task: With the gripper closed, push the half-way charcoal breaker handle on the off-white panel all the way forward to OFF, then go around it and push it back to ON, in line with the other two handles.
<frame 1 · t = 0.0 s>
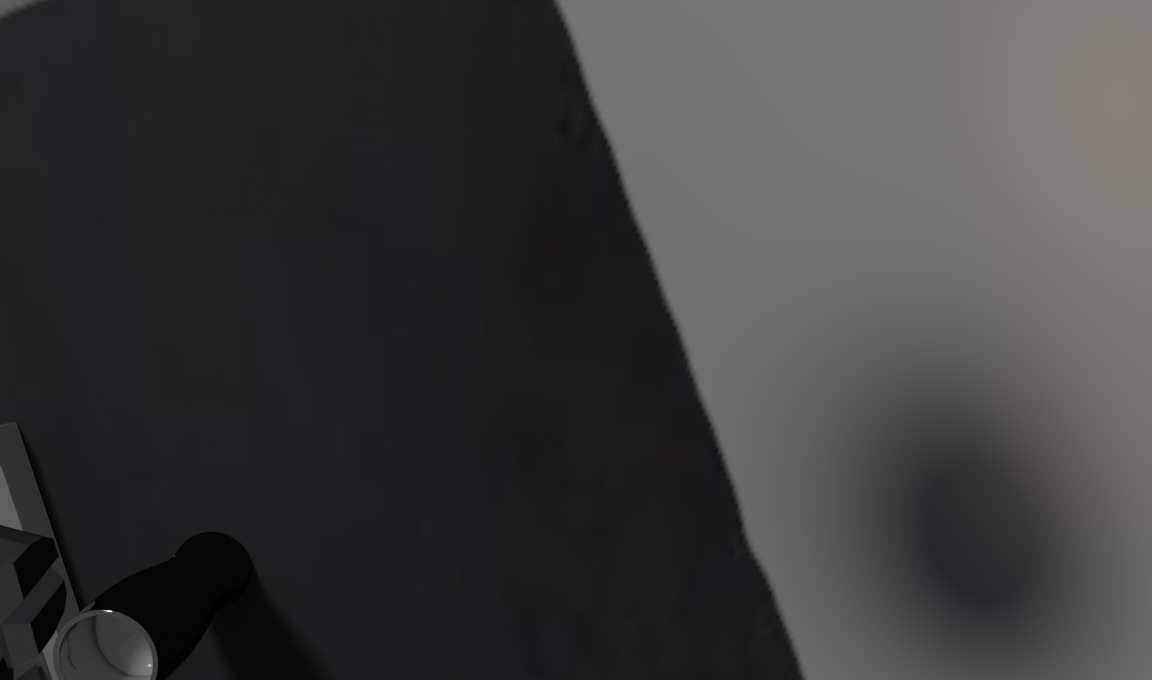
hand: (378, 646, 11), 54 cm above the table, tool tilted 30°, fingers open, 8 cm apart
beer glass: (214, 567, 68), on the table
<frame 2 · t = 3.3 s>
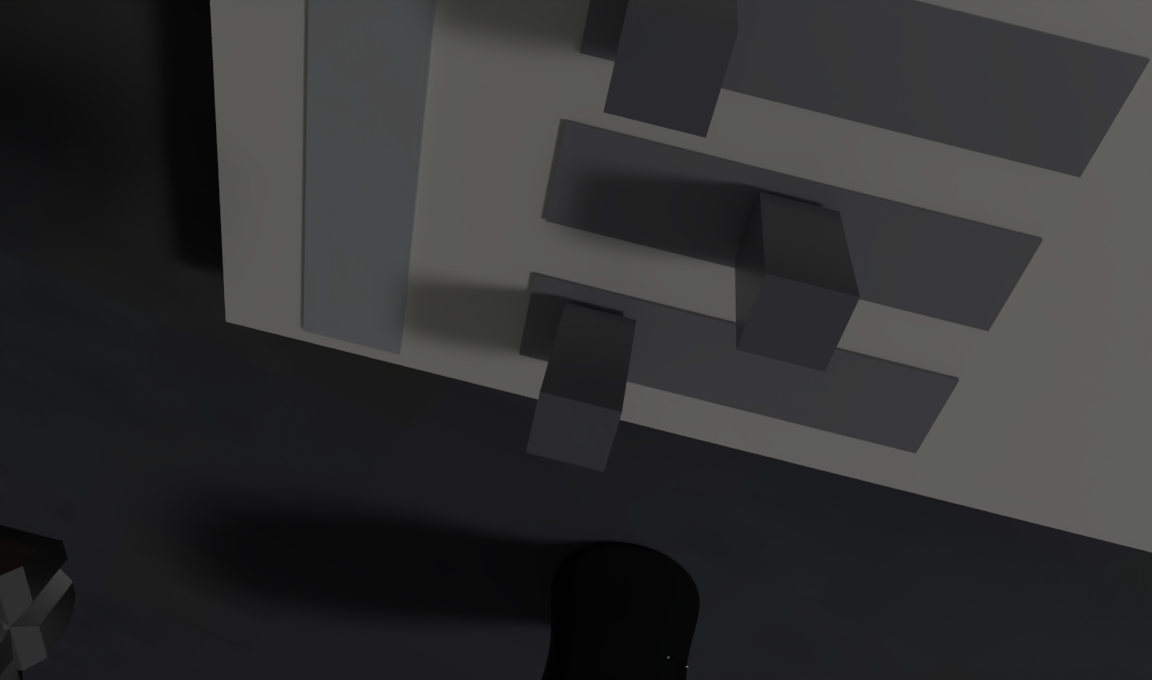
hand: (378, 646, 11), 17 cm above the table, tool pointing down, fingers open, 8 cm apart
tripped breaker handle: (790, 277, 20), point 6 cm above the table, slide at 4.0 cm
beer glass: (625, 590, 36), on the table
breaker panel: (778, 179, 24), on the table
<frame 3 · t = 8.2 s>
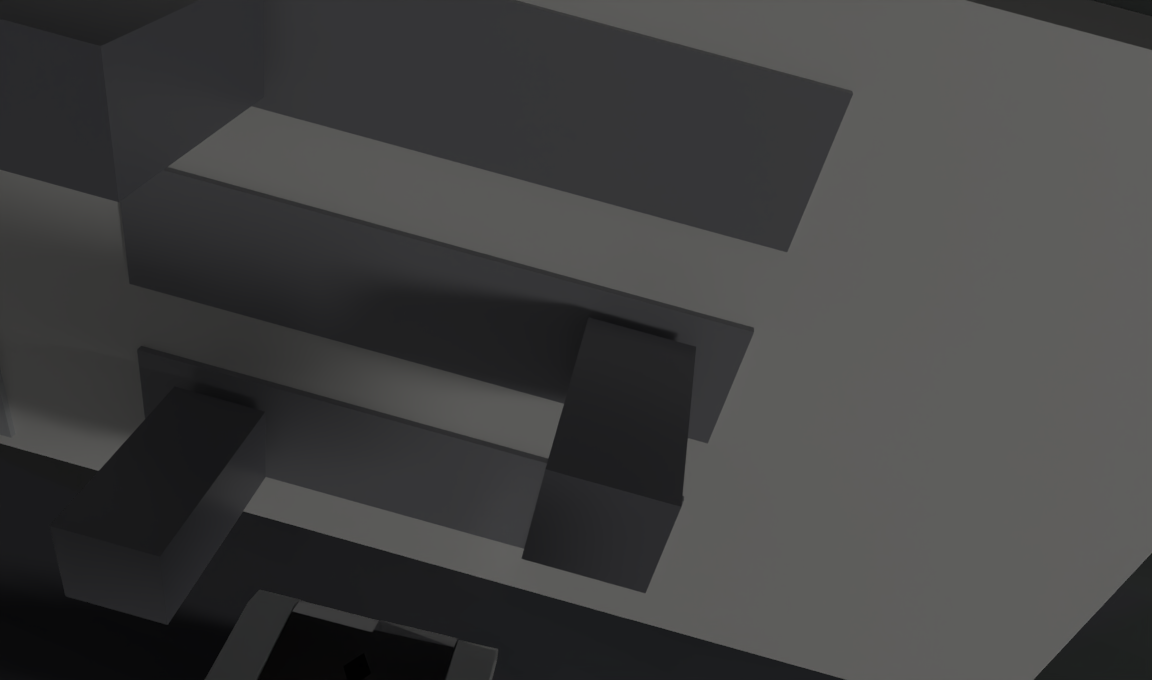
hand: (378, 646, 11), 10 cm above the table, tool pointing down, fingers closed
tripped breaker handle: (614, 445, 14), point 6 cm above the table, slide at 8.1 cm
breaker panel: (468, 230, 19), on the table
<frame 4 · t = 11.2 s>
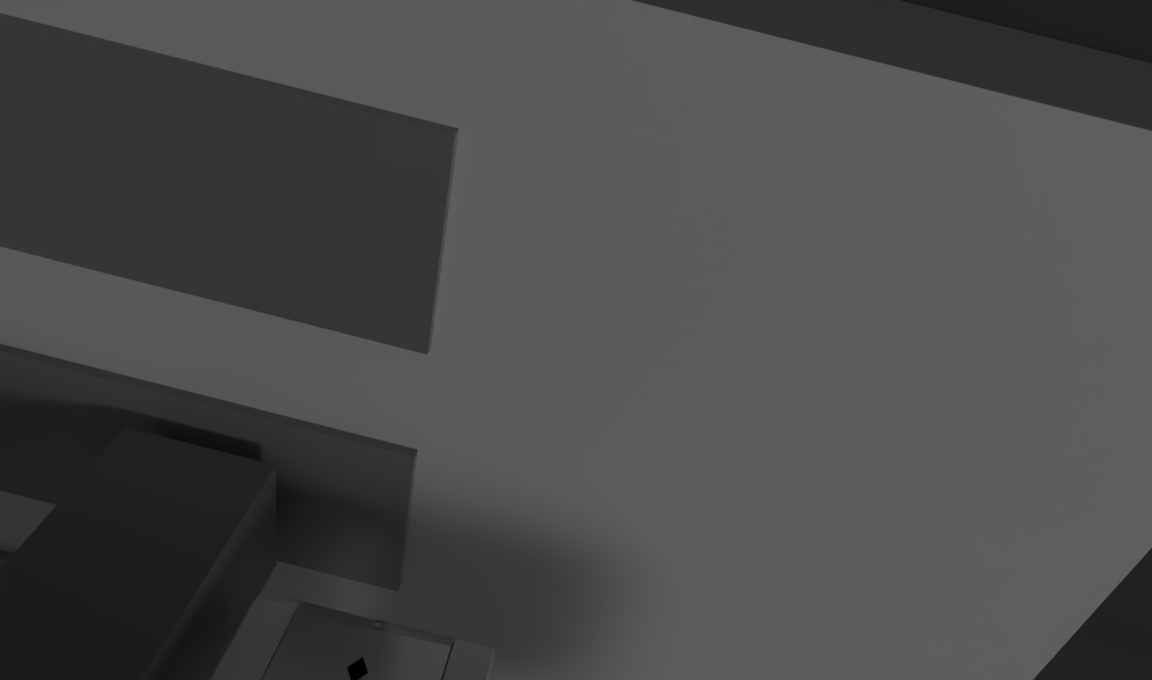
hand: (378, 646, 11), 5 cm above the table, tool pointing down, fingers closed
tripped breaker handle: (119, 621, 10), point 5 cm above the table, slide at 7.3 cm, touching gripper
breaker panel: (118, 303, 15), on the table
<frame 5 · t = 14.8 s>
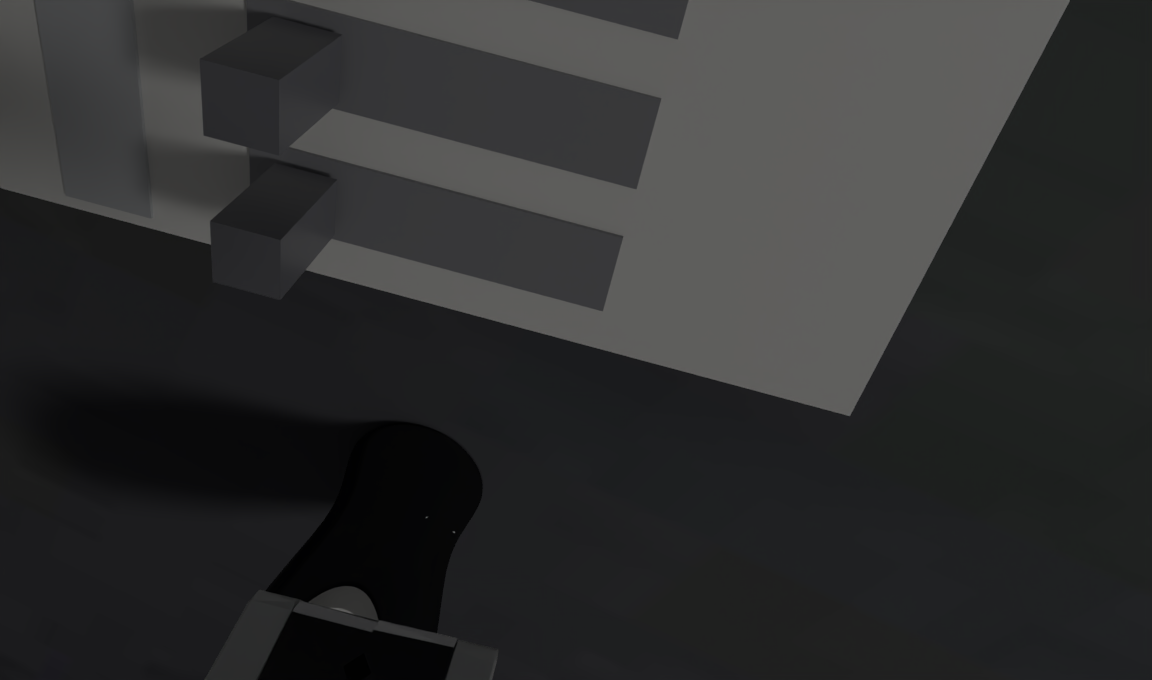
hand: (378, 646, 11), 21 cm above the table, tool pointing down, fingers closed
tripped breaker handle: (276, 82, 23), point 5 cm above the table, slide at -0.1 cm
beer glass: (418, 471, 39), on the table
breaker panel: (475, 60, 27), on the table
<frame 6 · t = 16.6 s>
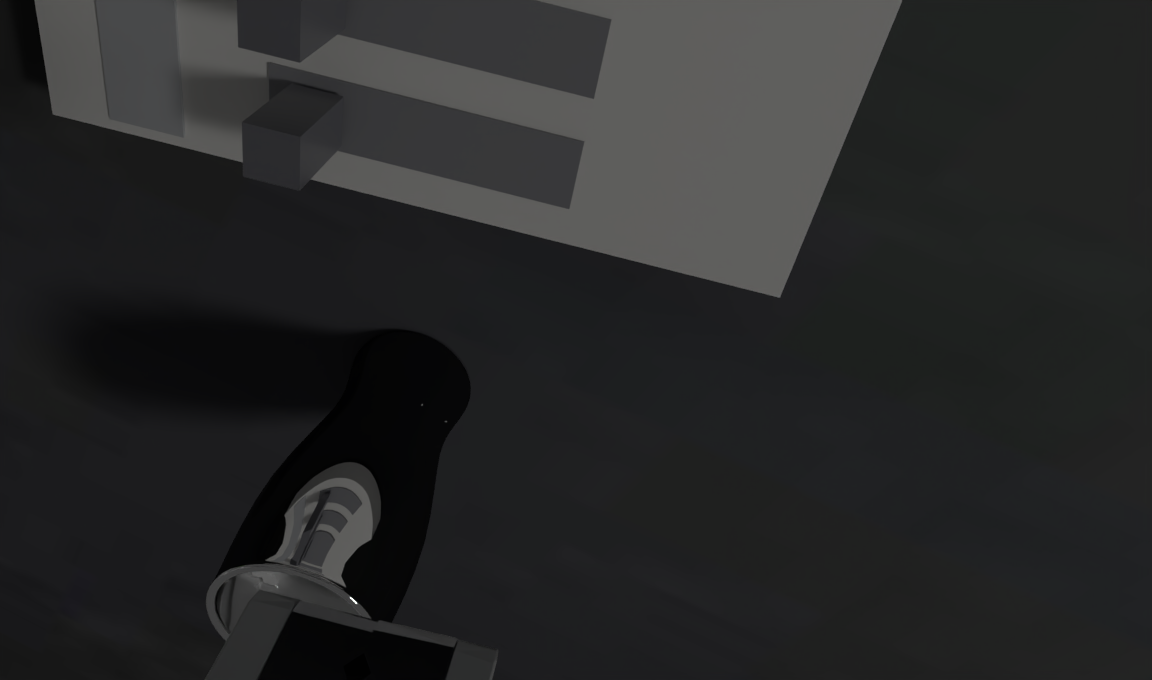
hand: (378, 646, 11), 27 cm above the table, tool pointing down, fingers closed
tripped breaker handle: (295, 6, 28), point 5 cm above the table, slide at -0.1 cm
beer glass: (414, 377, 44), on the table
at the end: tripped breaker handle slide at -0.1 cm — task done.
